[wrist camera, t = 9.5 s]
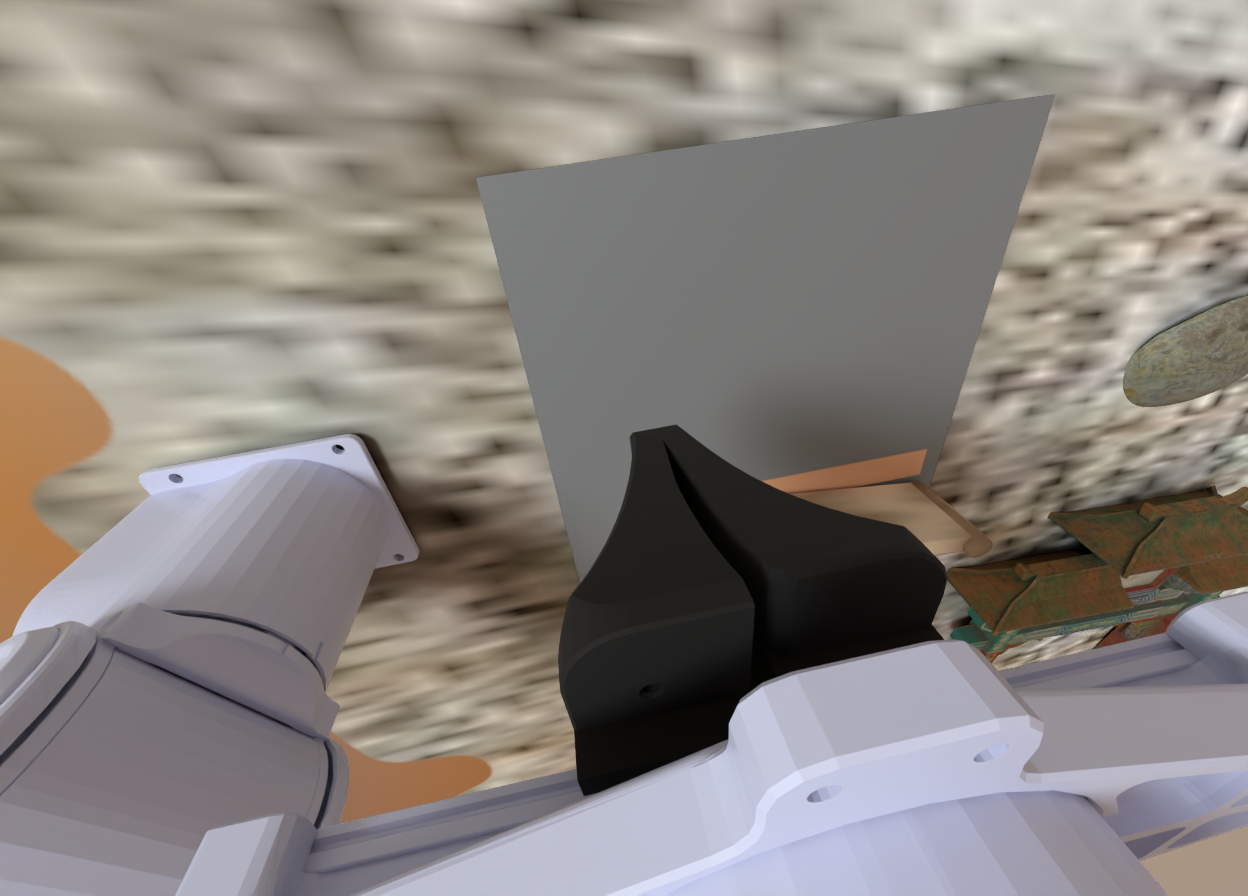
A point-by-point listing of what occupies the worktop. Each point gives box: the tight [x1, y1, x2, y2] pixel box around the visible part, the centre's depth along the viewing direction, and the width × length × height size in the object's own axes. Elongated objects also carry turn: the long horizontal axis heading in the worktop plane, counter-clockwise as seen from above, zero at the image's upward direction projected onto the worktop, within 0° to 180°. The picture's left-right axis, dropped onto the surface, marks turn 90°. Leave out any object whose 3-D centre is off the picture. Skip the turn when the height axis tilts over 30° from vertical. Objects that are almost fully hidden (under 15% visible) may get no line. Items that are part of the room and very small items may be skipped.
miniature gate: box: [946, 486, 1248, 663], centre depth 38 cm, size 27×6×30 cm
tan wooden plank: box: [791, 481, 992, 558], centre depth 24 cm, size 12×1×5 cm, turn 89°
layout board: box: [476, 94, 1055, 583], centre depth 23 cm, size 22×32×6 cm
